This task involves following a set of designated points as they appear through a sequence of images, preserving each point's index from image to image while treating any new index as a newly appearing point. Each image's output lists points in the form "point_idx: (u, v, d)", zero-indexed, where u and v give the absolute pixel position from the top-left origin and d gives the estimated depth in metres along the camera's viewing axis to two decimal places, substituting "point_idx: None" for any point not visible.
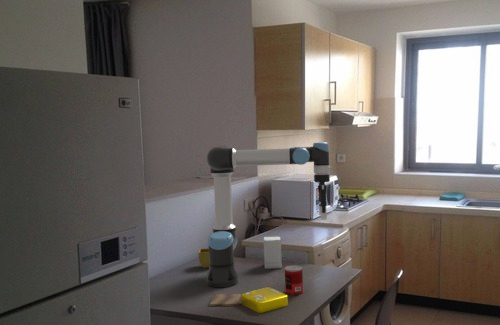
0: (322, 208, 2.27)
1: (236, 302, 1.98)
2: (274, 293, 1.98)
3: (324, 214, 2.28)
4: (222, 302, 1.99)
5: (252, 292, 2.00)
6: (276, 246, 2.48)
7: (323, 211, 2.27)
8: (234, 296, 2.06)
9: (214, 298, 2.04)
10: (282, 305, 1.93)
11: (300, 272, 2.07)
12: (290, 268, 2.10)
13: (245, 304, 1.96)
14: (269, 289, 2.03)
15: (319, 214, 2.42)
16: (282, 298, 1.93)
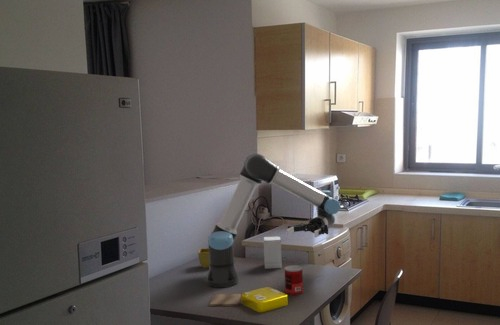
0: (322, 230, 2.18)
1: (236, 302, 1.98)
2: (274, 293, 1.98)
3: (317, 234, 2.16)
4: (222, 302, 1.99)
5: (252, 292, 2.01)
6: (276, 246, 2.48)
7: (321, 232, 2.17)
8: (234, 296, 2.06)
9: (214, 298, 2.04)
10: (282, 305, 1.94)
11: (300, 272, 2.07)
12: (290, 268, 2.10)
13: (245, 304, 1.96)
14: (269, 289, 2.04)
15: (288, 229, 2.21)
16: (282, 298, 1.94)
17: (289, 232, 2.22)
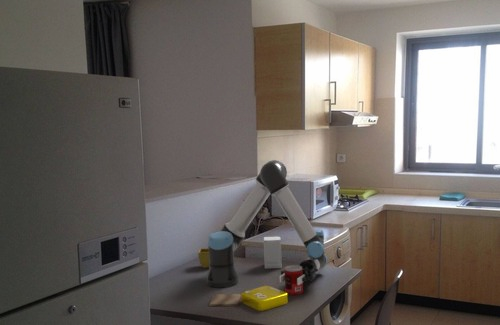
0: (306, 277, 2.08)
1: (236, 302, 1.98)
2: (274, 291, 2.00)
3: (301, 281, 2.06)
4: (222, 302, 1.99)
5: (252, 291, 2.02)
6: (276, 246, 2.48)
7: (305, 279, 2.07)
8: (234, 296, 2.06)
9: (214, 298, 2.04)
10: (282, 303, 1.96)
11: (300, 272, 2.07)
12: (290, 268, 2.10)
13: (245, 302, 1.98)
14: (268, 287, 2.06)
15: (281, 276, 2.08)
16: (282, 296, 1.96)
17: (282, 279, 2.09)
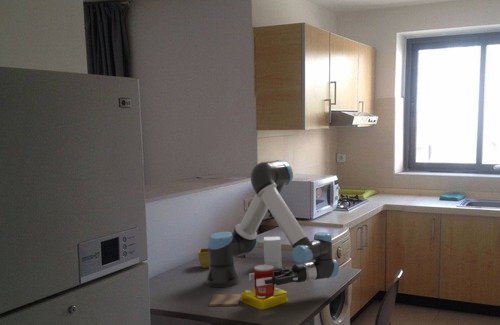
0: (270, 280, 1.92)
1: (236, 302, 1.98)
2: None
3: (262, 283, 1.92)
4: (222, 302, 1.99)
5: (252, 290, 2.04)
6: (276, 246, 2.48)
7: (267, 282, 1.92)
8: (234, 296, 2.06)
9: (214, 298, 2.04)
10: (282, 301, 1.97)
11: (264, 273, 1.93)
12: (261, 267, 1.98)
13: (246, 302, 1.99)
14: None
15: (250, 274, 1.99)
16: (282, 295, 1.97)
17: (253, 277, 2.00)
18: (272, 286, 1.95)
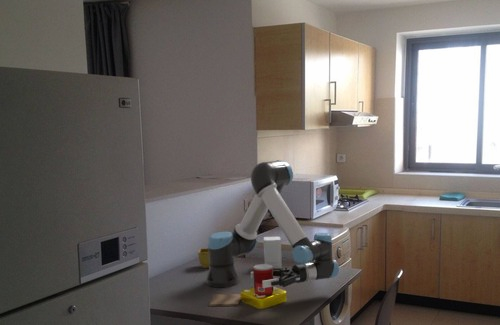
0: (277, 282, 1.90)
1: (236, 302, 1.98)
2: (273, 290, 2.03)
3: (269, 284, 1.90)
4: (222, 302, 1.99)
5: (251, 289, 2.04)
6: (276, 246, 2.48)
7: (273, 283, 1.90)
8: (234, 296, 2.06)
9: (214, 298, 2.04)
10: (281, 301, 1.98)
11: (263, 272, 1.94)
12: (260, 266, 1.99)
13: (245, 301, 2.00)
14: None
15: (251, 272, 2.02)
16: (281, 294, 1.98)
17: None
18: None
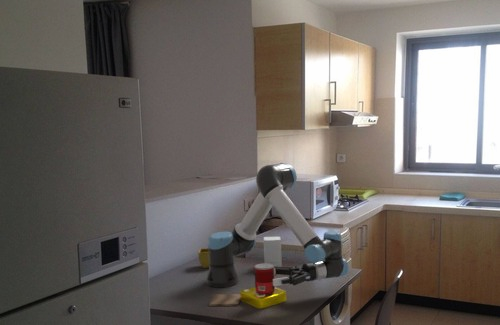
0: (287, 280, 1.91)
1: (236, 302, 1.98)
2: None
3: (279, 283, 1.91)
4: (222, 302, 1.99)
5: (251, 289, 2.05)
6: (276, 246, 2.48)
7: (284, 282, 1.91)
8: (234, 296, 2.06)
9: (214, 298, 2.04)
10: (281, 301, 1.98)
11: (264, 272, 1.95)
12: (262, 265, 2.00)
13: (245, 301, 2.00)
14: None
15: None
16: (281, 294, 1.98)
17: None
18: (272, 285, 1.97)
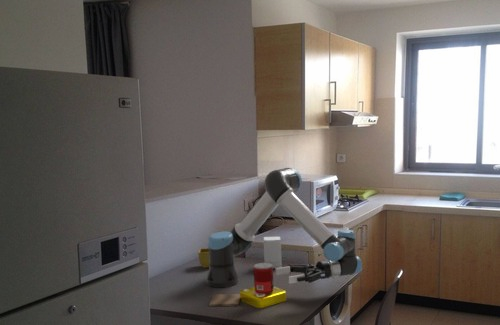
0: (303, 277, 1.94)
1: (236, 302, 1.98)
2: None
3: (295, 280, 1.94)
4: (222, 302, 1.99)
5: (250, 289, 2.05)
6: (276, 246, 2.48)
7: (299, 279, 1.93)
8: (234, 296, 2.06)
9: (214, 298, 2.04)
10: (281, 300, 1.99)
11: (262, 271, 1.96)
12: (261, 265, 2.01)
13: (244, 301, 2.00)
14: None
15: (276, 268, 2.06)
16: (281, 294, 1.99)
17: (279, 271, 2.06)
18: (270, 284, 1.98)
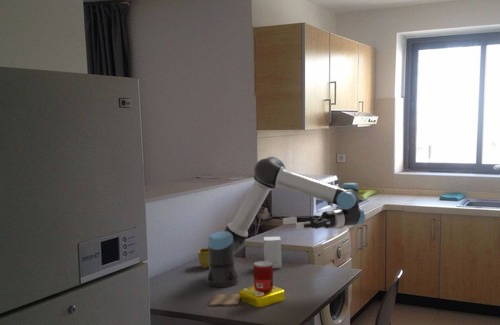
0: (309, 224, 2.05)
1: (236, 302, 1.98)
2: None
3: (302, 226, 2.05)
4: (222, 302, 1.99)
5: (249, 288, 2.06)
6: (277, 246, 2.48)
7: (306, 225, 2.04)
8: (234, 296, 2.06)
9: (214, 298, 2.04)
10: (279, 300, 2.00)
11: (262, 269, 1.99)
12: (261, 263, 2.04)
13: (243, 300, 2.01)
14: None
15: (284, 218, 2.17)
16: (279, 293, 2.00)
17: (286, 221, 2.17)
18: (270, 282, 2.00)
